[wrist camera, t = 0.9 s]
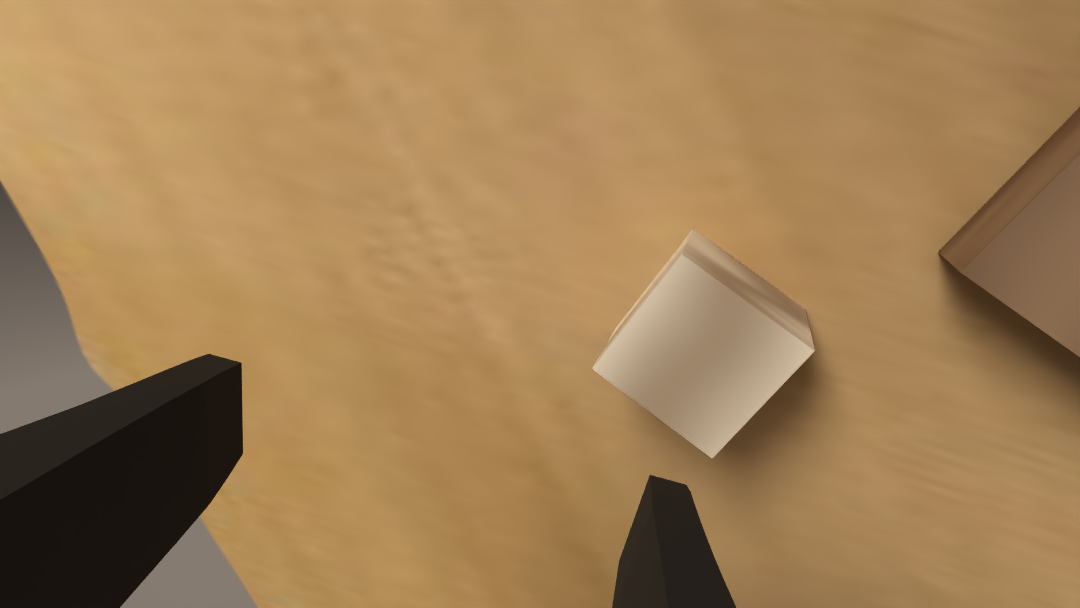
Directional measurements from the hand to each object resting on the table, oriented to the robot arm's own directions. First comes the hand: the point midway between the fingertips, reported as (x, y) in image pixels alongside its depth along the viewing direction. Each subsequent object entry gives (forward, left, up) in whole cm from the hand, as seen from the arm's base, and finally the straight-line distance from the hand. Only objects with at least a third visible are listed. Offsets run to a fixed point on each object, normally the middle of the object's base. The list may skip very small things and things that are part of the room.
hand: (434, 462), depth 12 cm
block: (-4, -1, -14) cm, 14 cm away
